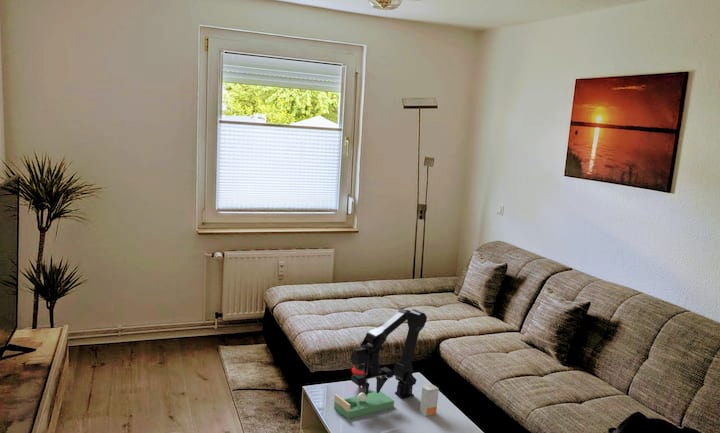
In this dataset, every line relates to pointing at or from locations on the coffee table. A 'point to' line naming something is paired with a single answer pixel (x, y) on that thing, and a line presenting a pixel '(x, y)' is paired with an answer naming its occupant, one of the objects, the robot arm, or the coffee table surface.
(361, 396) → the ball
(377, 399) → the putting mat
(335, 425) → the coffee table surface
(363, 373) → the gemstone
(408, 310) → the robot arm
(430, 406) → the skincare box
